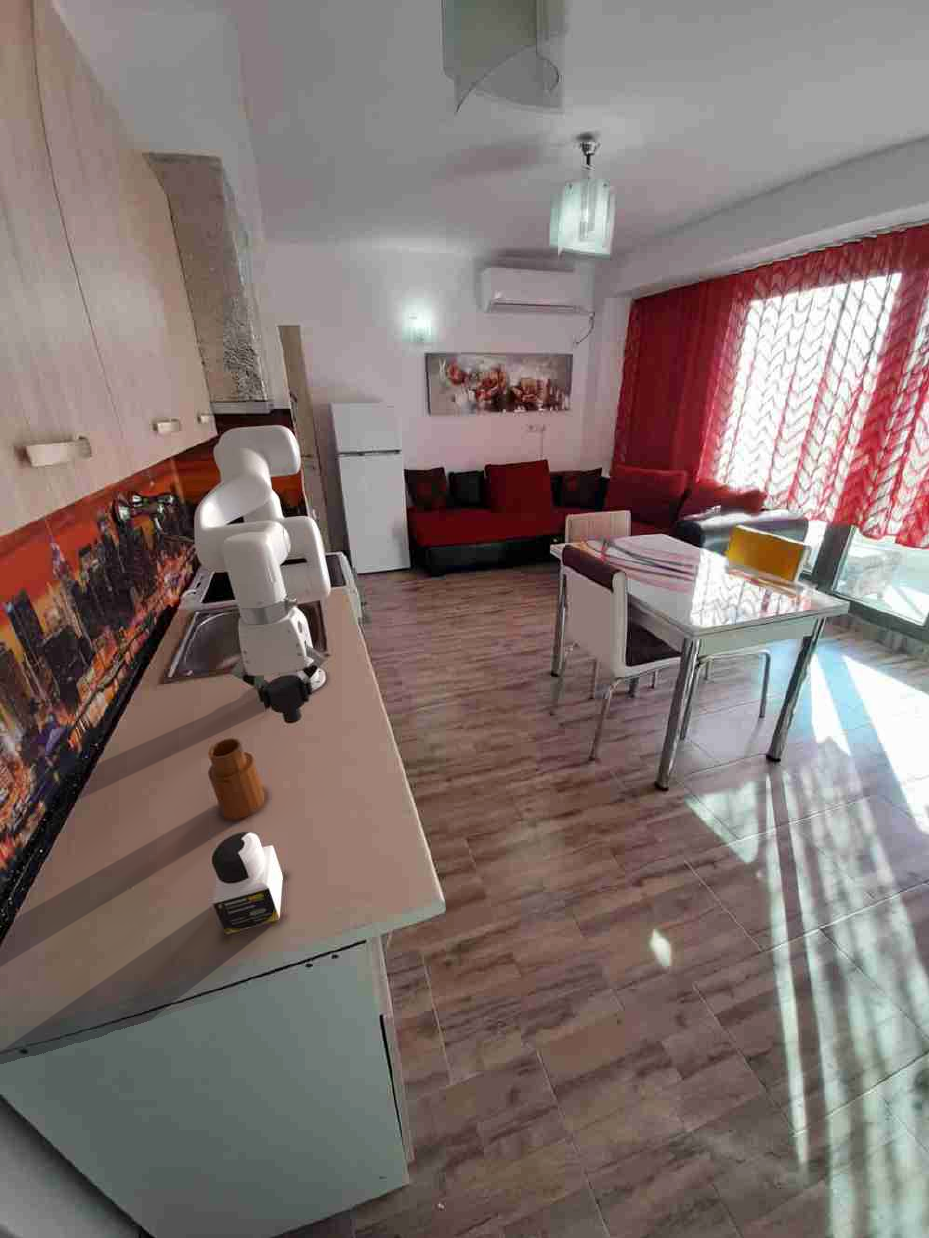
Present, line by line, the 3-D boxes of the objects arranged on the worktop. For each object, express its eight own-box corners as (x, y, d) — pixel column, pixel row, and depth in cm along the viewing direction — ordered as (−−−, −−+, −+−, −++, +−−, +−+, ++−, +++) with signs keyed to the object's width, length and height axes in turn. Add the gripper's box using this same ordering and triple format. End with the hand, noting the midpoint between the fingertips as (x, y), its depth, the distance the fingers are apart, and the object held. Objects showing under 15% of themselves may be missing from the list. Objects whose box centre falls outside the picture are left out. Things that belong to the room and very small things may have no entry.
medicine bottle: (225, 935, 65) (200, 877, 60) (234, 889, 71) (211, 832, 66) (279, 920, 67) (259, 861, 61) (283, 876, 73) (265, 819, 68)
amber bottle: (227, 792, 89) (208, 738, 84) (267, 785, 90) (250, 731, 85) (217, 823, 83) (195, 766, 77) (260, 814, 84) (242, 758, 78)
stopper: (278, 711, 89) (269, 677, 85) (311, 706, 90) (303, 672, 86) (273, 731, 83) (263, 696, 80) (308, 725, 84) (299, 691, 81)
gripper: (320, 594, 82) (338, 682, 89) (214, 607, 79) (242, 696, 87) (317, 612, 75) (336, 705, 83) (201, 627, 72) (232, 721, 80)
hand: (288, 699), depth 85 cm, fingers closed on stopper, 6 cm apart
